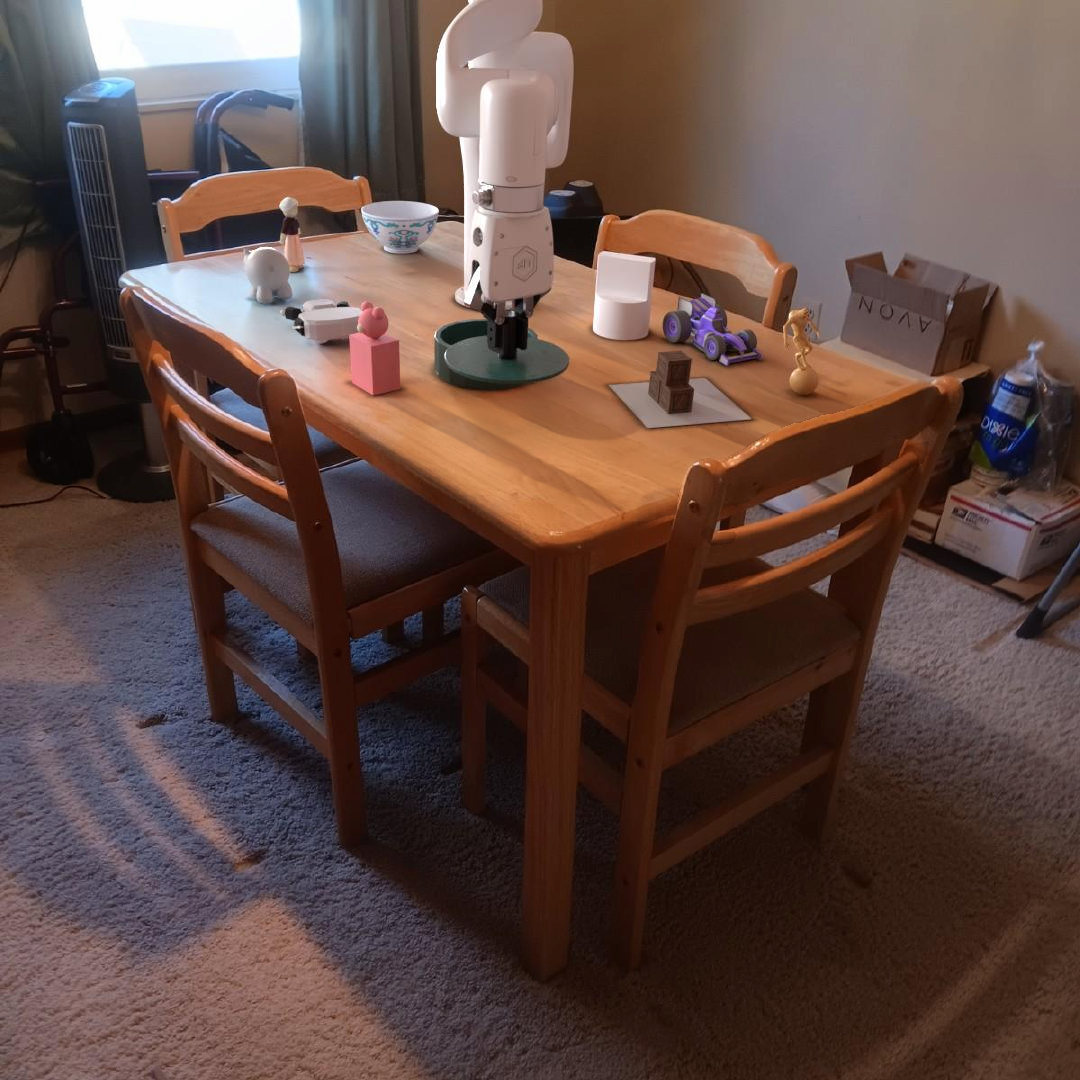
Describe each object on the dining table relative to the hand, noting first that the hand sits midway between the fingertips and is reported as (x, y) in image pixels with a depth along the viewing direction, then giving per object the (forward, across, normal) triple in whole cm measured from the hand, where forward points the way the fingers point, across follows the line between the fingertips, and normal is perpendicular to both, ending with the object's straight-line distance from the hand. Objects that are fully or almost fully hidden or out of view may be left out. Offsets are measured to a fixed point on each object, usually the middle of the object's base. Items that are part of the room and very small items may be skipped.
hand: (507, 348), depth 125 cm
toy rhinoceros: (+11, -1, +65) cm, 66 cm away
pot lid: (+2, 0, 0) cm, 2 cm away
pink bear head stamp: (+10, -7, +20) cm, 23 cm away
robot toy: (+11, -2, +42) cm, 43 cm away
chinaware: (+11, +35, +78) cm, 86 cm away
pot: (+10, +9, +16) cm, 21 cm away
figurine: (+10, +41, -15) cm, 45 cm away
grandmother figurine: (+11, +11, +77) cm, 78 cm away
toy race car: (+11, +44, +4) cm, 46 cm away
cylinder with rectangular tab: (+11, +38, +18) cm, 43 cm away
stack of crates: (+10, +24, -8) cm, 27 cm away
